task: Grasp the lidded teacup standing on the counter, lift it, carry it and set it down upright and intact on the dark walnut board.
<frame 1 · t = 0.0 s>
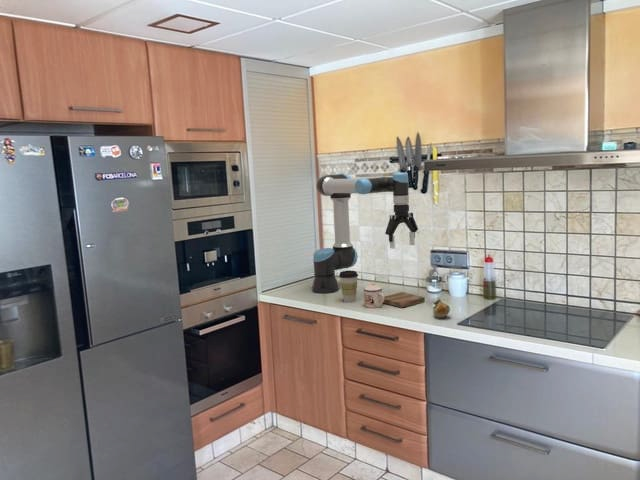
hand: (402, 246, 262), 28 cm above the countertop, tool pointing down, fingers open, 13 cm apart
walnut board: (401, 302, 264), on the countertop
teacup with lid: (375, 306, 260), on the countertop
onion: (441, 317, 236), on the countertop
coffee cup: (349, 301, 273), on the countertop
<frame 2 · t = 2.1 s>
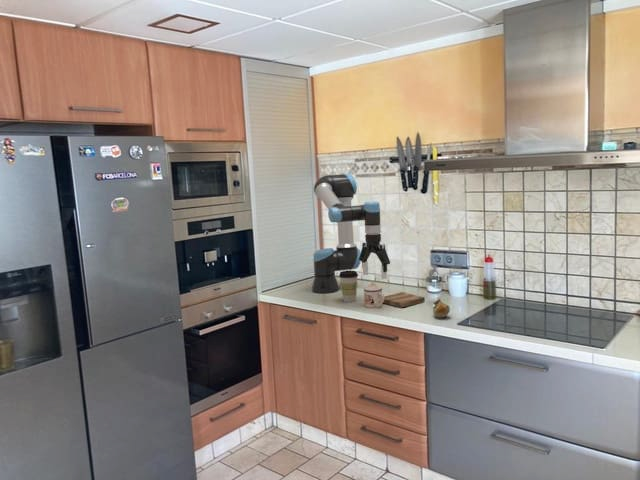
hand: (374, 276, 257), 15 cm above the countertop, tool pointing down, fingers open, 13 cm apart
nothing on the countertop moved.
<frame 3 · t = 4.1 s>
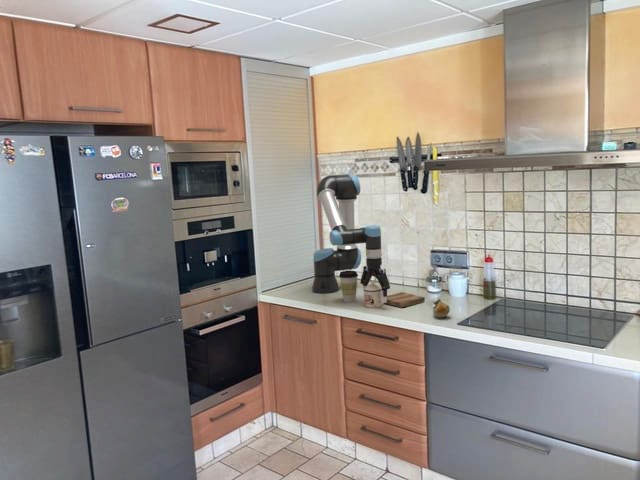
hand: (375, 300, 259), 3 cm above the countertop, tool pointing down, fingers closed on teacup with lid, 12 cm apart
teacup with lid: (375, 306, 260), on the countertop, touching gripper
everything else where it was.
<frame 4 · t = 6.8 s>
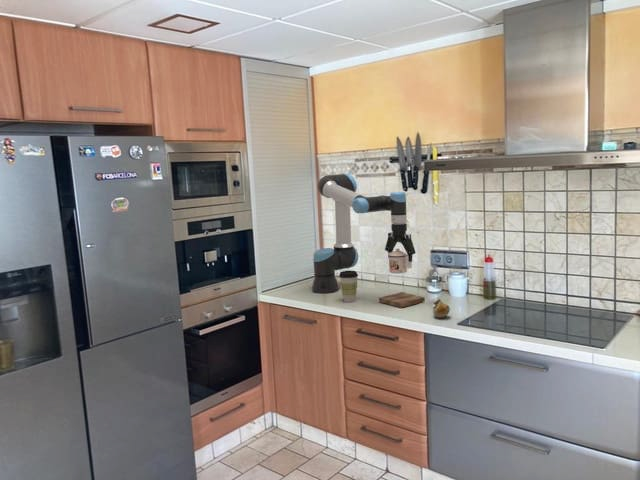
hand: (400, 266, 262), 18 cm above the countertop, tool pointing down, fingers closed on teacup with lid, 12 cm apart
teacup with lid: (400, 272, 262), point 15 cm above the countertop, touching gripper
everything else where it was.
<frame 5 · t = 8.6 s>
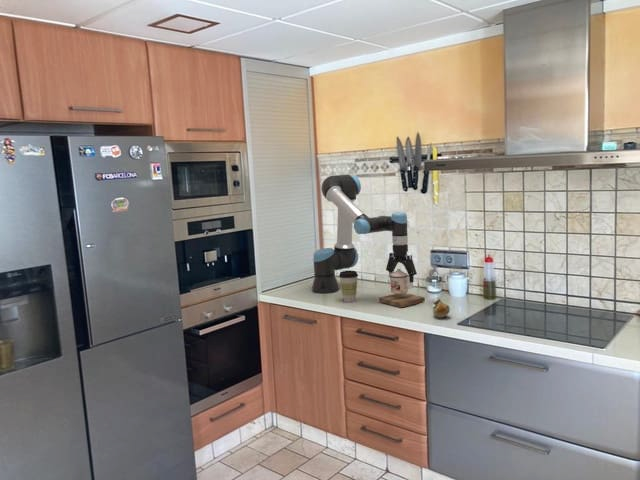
hand: (401, 286, 263), 8 cm above the countertop, tool pointing down, fingers closed on teacup with lid, 12 cm apart
teacup with lid: (401, 292, 263), point 5 cm above the countertop, touching gripper
everything else where it was.
when the fingers open (7 cm above the countertop, at t = 10.0 s): teacup with lid drops 1 cm, resting on walnut board.
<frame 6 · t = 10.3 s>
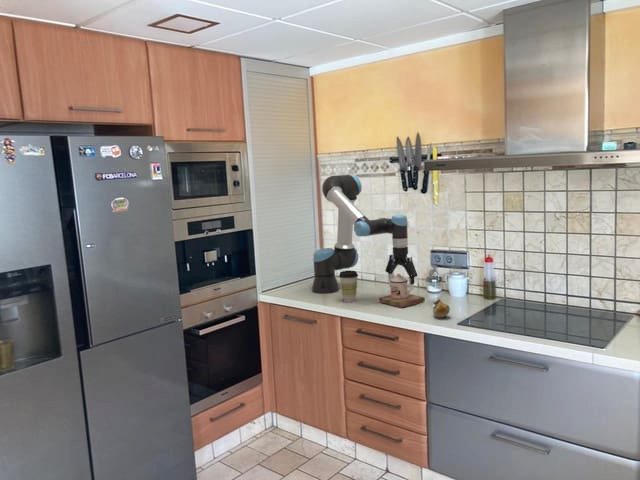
hand: (401, 288, 263), 7 cm above the countertop, tool pointing down, fingers open, 13 cm apart
teacup with lid: (401, 297, 264), point 2 cm above the countertop, touching walnut board
everything else where it was.
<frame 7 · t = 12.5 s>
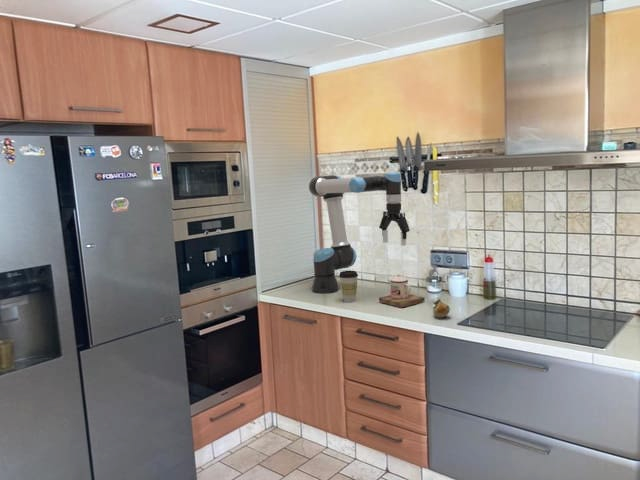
hand: (394, 244, 270), 28 cm above the countertop, tool pointing down, fingers open, 13 cm apart
nothing on the countertop moved.
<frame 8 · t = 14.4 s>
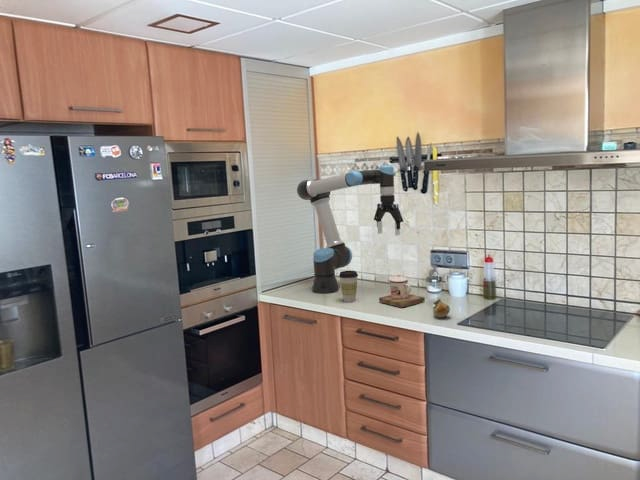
hand: (388, 234, 282), 32 cm above the countertop, tool pointing down, fingers open, 13 cm apart
nothing on the countertop moved.
at the end: teacup with lid inside the target area on the walnut board (0.4 cm from its centre), point 2.3 cm above the walnut board's base; teacup with lid tilted 0°; the gripper is holding nothing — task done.
